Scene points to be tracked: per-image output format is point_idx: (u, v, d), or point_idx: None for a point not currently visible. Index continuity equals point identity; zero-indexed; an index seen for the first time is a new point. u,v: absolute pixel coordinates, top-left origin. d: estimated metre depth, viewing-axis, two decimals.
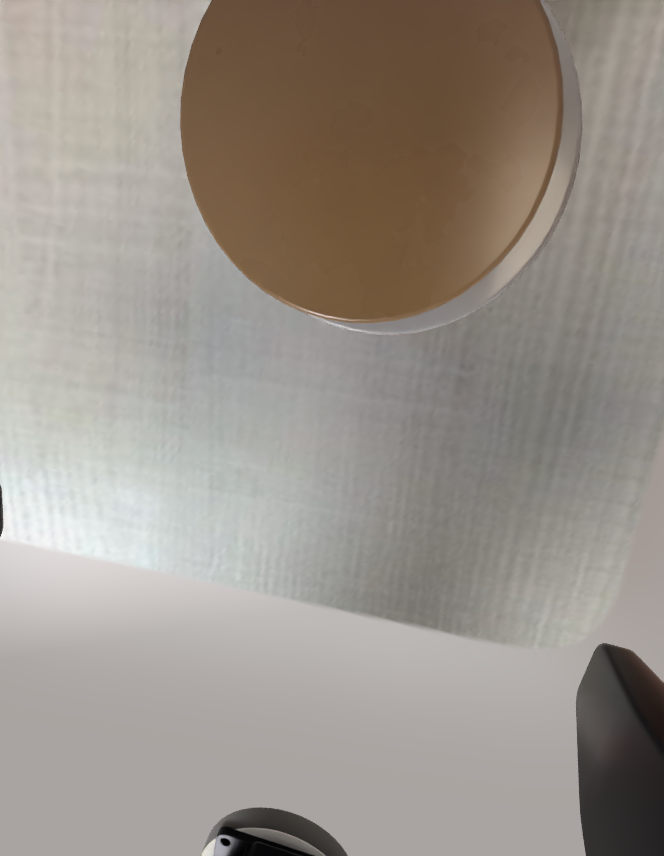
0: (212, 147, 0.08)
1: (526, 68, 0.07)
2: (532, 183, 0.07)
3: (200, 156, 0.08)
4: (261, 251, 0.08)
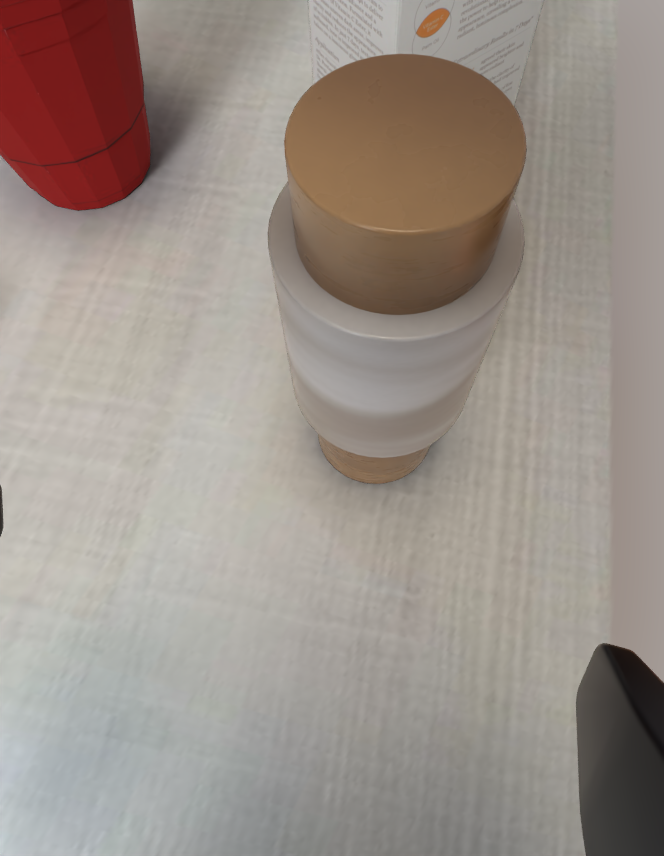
0: (306, 137, 0.11)
1: (502, 117, 0.12)
2: (513, 165, 0.11)
3: (297, 141, 0.11)
4: (332, 190, 0.11)
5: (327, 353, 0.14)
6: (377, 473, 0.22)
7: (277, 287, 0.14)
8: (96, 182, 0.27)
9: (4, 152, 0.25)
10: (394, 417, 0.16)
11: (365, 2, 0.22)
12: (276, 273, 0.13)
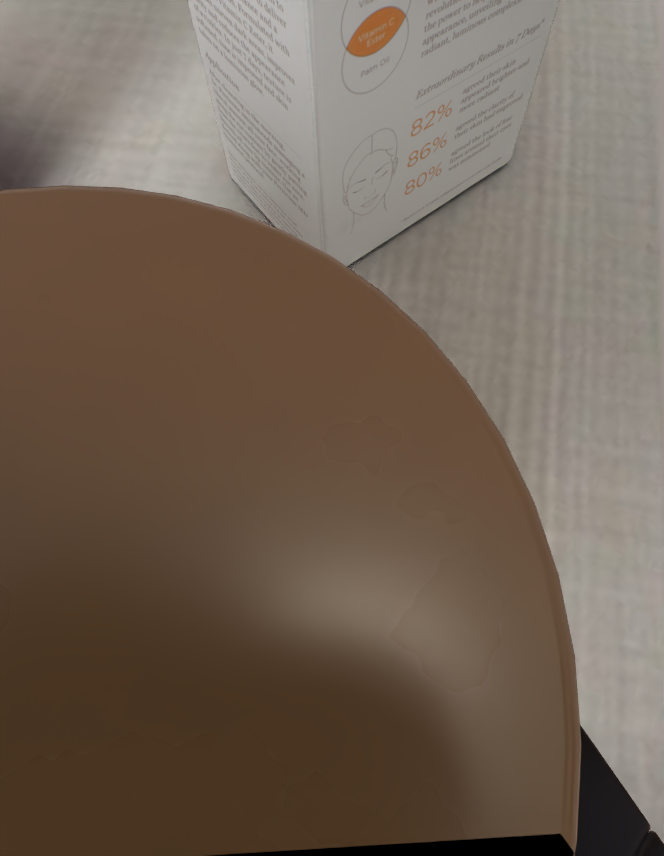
0: None
1: (459, 539, 0.02)
2: None
3: None
4: None
5: None
6: None
7: None
8: None
9: None
10: None
11: None
12: None
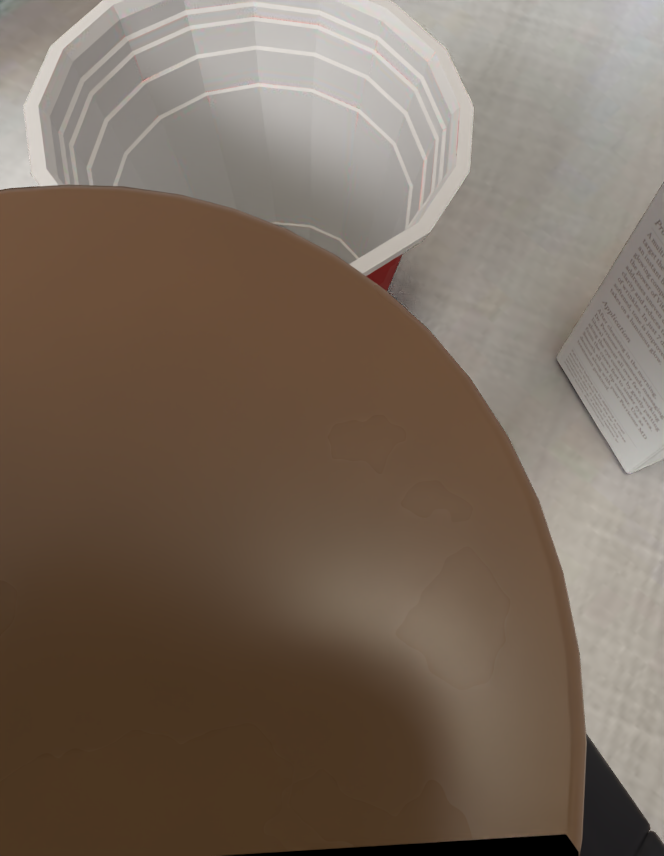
0: None
1: (462, 539, 0.02)
2: None
3: None
4: None
5: None
6: None
7: None
8: None
9: None
10: None
11: None
12: None
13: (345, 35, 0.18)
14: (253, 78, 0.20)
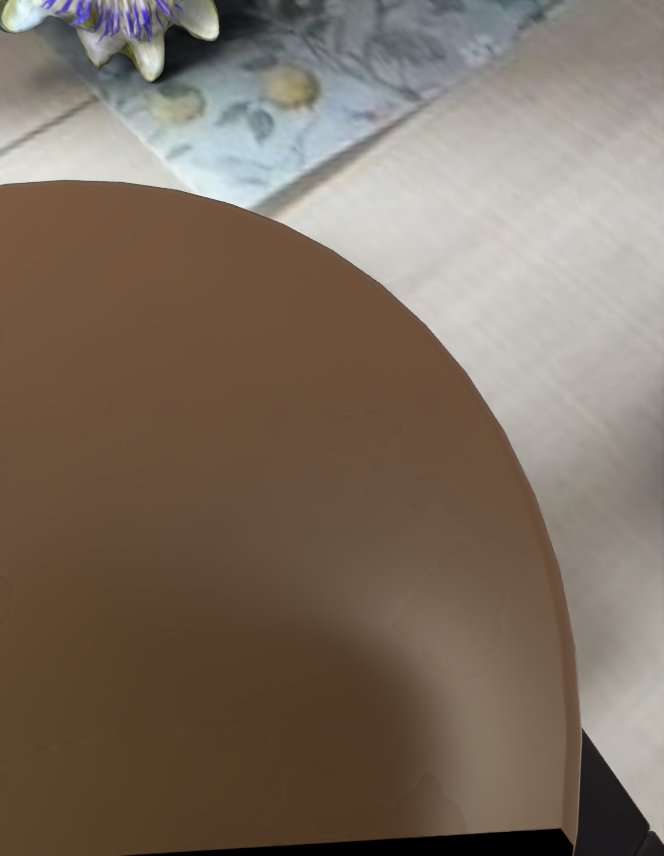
0: None
1: (459, 531, 0.02)
2: None
3: None
4: None
5: None
6: None
7: None
8: None
9: None
10: None
11: None
12: None
13: None
14: None
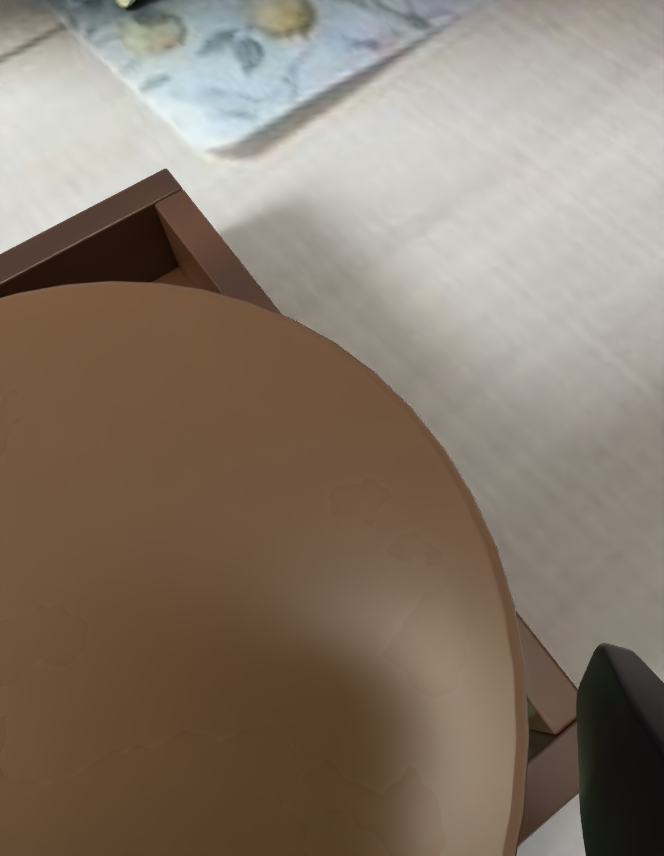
0: None
1: (436, 579, 0.03)
2: None
3: None
4: None
5: None
6: None
7: None
8: None
9: None
10: None
11: None
12: None
13: None
14: None
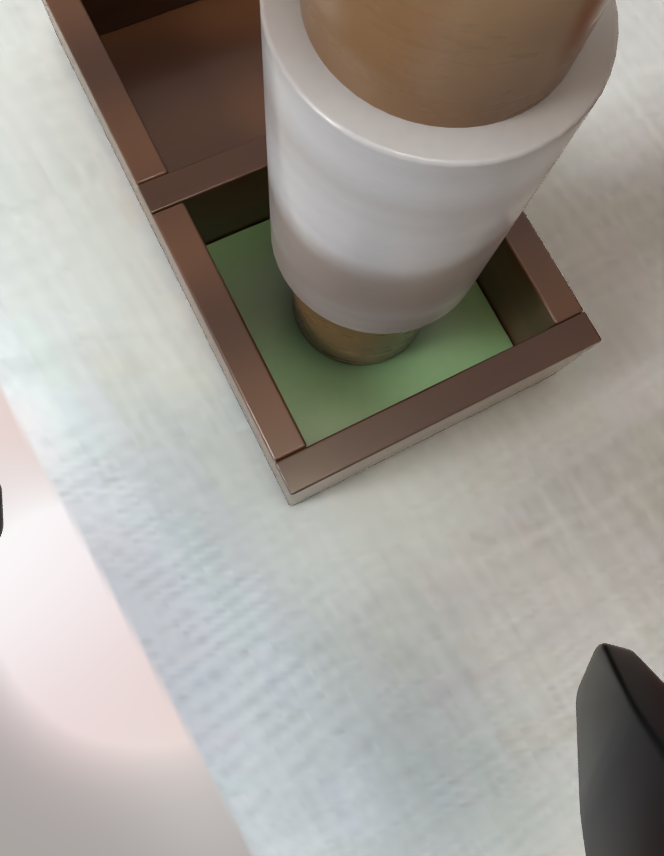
0: None
1: None
2: None
3: None
4: None
5: (320, 172, 0.10)
6: (354, 352, 0.19)
7: (264, 63, 0.10)
8: None
9: None
10: (390, 280, 0.13)
11: None
12: (265, 35, 0.09)
13: None
14: None
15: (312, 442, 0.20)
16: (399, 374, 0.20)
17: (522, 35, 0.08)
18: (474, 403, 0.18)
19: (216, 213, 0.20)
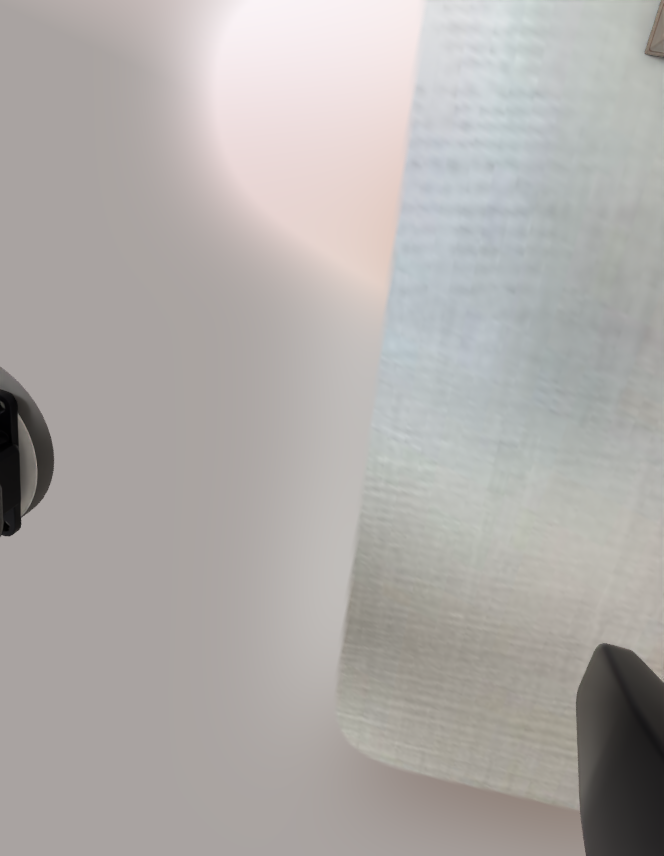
0: None
1: None
2: None
3: None
4: None
5: None
6: None
7: None
8: None
9: None
10: None
11: None
12: None
13: None
14: None
15: None
16: None
17: None
18: None
19: None
